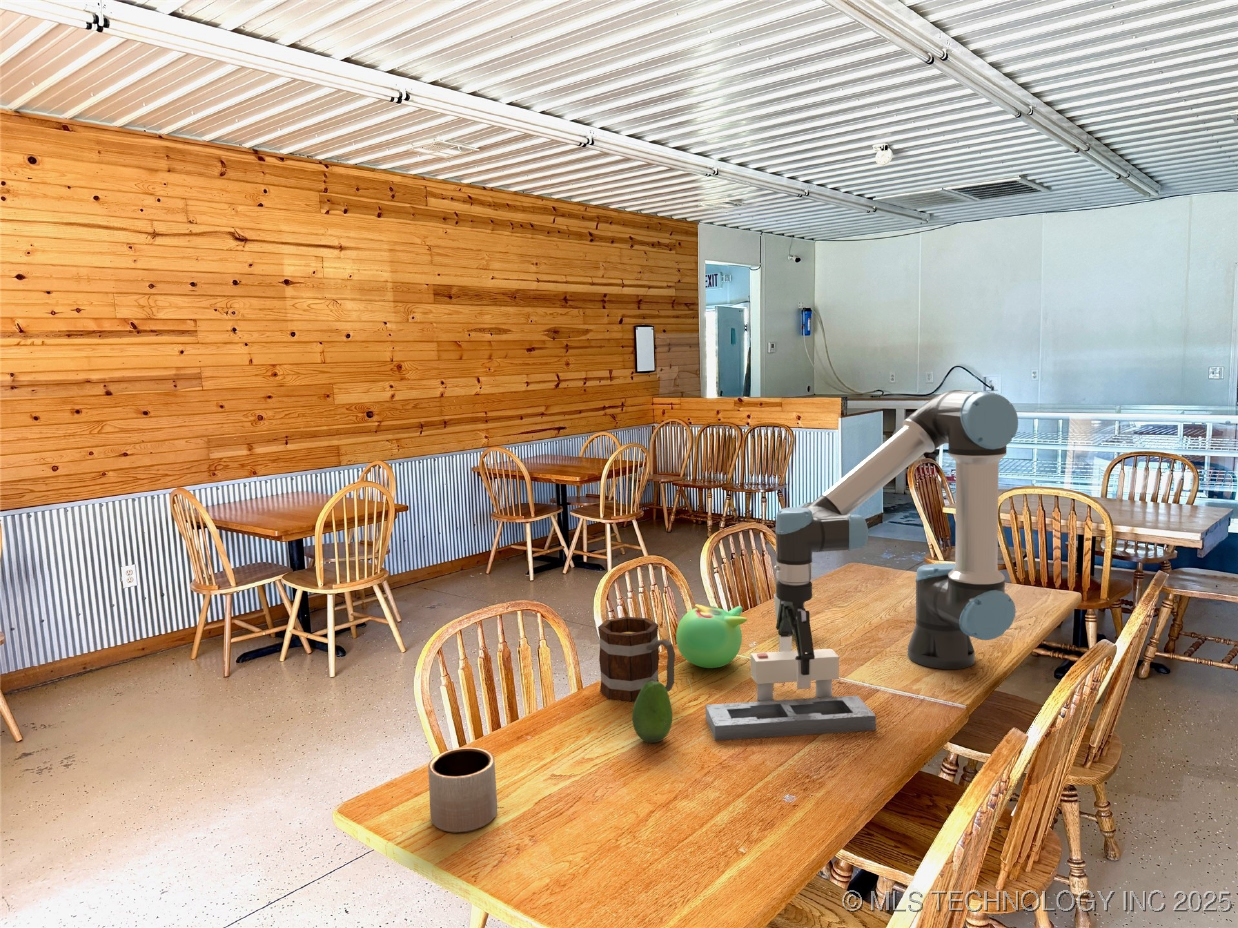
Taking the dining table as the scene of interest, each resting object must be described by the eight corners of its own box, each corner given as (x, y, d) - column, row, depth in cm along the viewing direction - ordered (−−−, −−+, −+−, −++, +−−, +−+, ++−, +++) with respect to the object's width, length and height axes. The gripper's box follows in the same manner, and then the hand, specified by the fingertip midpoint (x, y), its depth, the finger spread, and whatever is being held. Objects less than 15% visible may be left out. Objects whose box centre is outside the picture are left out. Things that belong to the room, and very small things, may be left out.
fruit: (625, 735, 165) (624, 677, 163) (661, 727, 168) (660, 670, 166) (642, 752, 157) (641, 692, 156) (680, 744, 160) (678, 684, 159)
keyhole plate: (857, 708, 174) (857, 695, 173) (875, 730, 164) (875, 715, 164) (705, 718, 171) (705, 704, 171) (715, 740, 161) (714, 725, 161)
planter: (435, 801, 142) (432, 748, 141) (499, 797, 143) (497, 744, 142) (426, 837, 131) (422, 780, 130) (495, 832, 132) (492, 775, 131)
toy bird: (675, 651, 211) (674, 595, 209) (742, 650, 210) (741, 594, 208) (678, 678, 193) (676, 617, 191) (751, 677, 192) (750, 616, 191)
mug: (587, 691, 187) (585, 627, 185) (627, 674, 197) (626, 612, 195) (654, 715, 174) (652, 646, 172) (693, 695, 184) (692, 629, 182)
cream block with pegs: (831, 689, 184) (831, 646, 183) (838, 698, 179) (838, 654, 178) (751, 694, 183) (750, 650, 181) (756, 704, 178) (756, 659, 176)
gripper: (762, 566, 190) (762, 656, 192) (793, 597, 165) (793, 700, 168) (794, 565, 190) (794, 654, 193) (830, 595, 166) (830, 697, 168)
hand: (794, 675), depth 180 cm, fingers open, 13 cm apart
